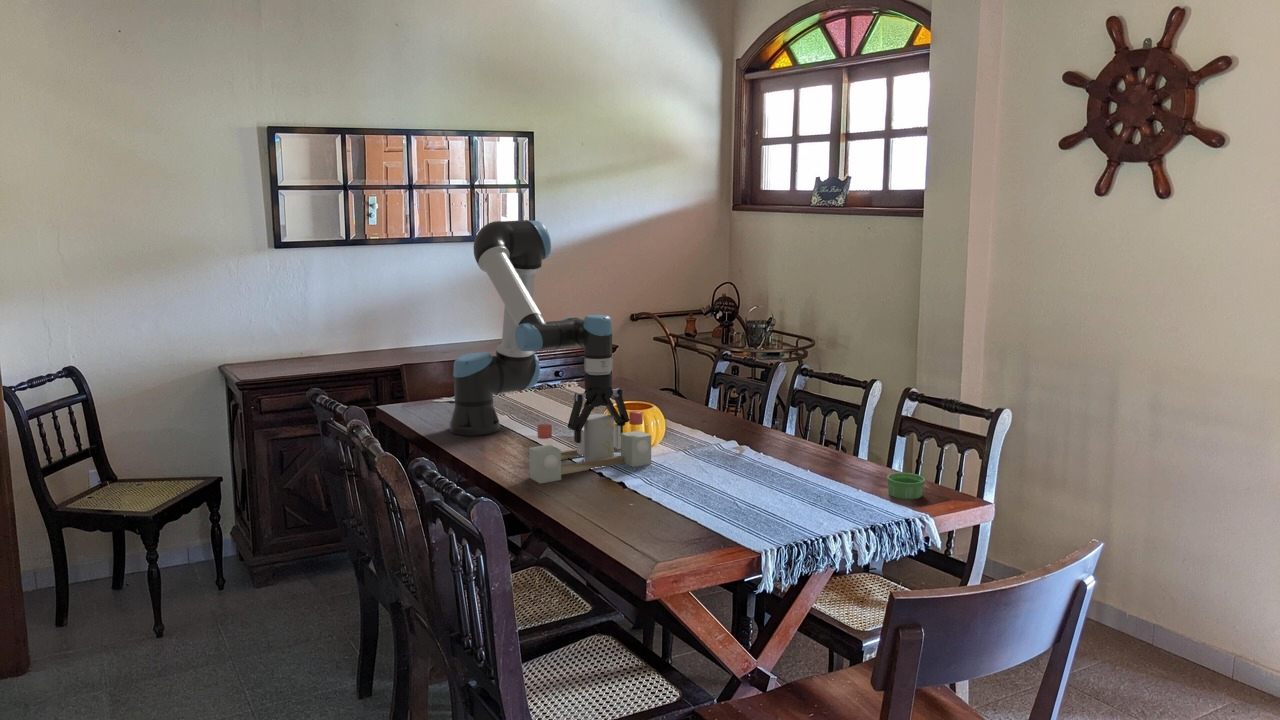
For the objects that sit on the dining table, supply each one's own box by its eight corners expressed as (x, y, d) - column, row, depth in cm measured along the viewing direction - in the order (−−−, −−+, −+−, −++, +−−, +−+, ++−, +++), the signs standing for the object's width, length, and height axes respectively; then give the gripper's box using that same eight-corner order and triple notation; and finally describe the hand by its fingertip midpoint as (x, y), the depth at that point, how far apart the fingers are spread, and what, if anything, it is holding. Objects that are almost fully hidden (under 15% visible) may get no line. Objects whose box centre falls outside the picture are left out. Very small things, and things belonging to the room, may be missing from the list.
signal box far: (620, 461, 274) (620, 433, 272) (639, 458, 277) (639, 430, 276) (633, 467, 269) (632, 438, 267) (651, 464, 272) (651, 435, 270)
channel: (537, 462, 274) (536, 455, 273) (597, 452, 284) (597, 445, 283) (560, 474, 262) (560, 467, 262) (623, 463, 272) (623, 456, 272)
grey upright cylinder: (610, 464, 271) (609, 421, 269) (581, 463, 273) (580, 420, 271) (616, 456, 279) (616, 414, 277) (588, 455, 281) (588, 413, 279)
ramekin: (882, 489, 250) (883, 472, 250) (919, 489, 250) (920, 472, 249) (890, 500, 242) (891, 483, 241) (928, 500, 241) (929, 483, 240)
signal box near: (529, 477, 260) (529, 447, 258) (550, 474, 263) (550, 444, 261) (540, 483, 254) (540, 453, 253) (561, 480, 257) (561, 449, 256)
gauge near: (535, 436, 257) (534, 425, 257) (547, 434, 259) (547, 423, 259) (541, 439, 254) (541, 428, 254) (554, 437, 256) (553, 426, 256)
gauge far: (626, 422, 272) (626, 411, 271) (638, 421, 273) (638, 410, 273) (633, 425, 269) (633, 414, 268) (645, 423, 270) (645, 412, 270)
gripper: (566, 379, 262) (568, 460, 266) (642, 370, 275) (642, 448, 278) (553, 374, 269) (555, 453, 273) (627, 365, 281) (628, 442, 285)
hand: (599, 451), depth 276 cm, fingers open, 11 cm apart
